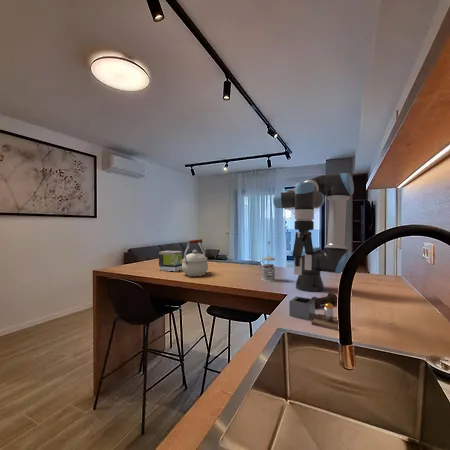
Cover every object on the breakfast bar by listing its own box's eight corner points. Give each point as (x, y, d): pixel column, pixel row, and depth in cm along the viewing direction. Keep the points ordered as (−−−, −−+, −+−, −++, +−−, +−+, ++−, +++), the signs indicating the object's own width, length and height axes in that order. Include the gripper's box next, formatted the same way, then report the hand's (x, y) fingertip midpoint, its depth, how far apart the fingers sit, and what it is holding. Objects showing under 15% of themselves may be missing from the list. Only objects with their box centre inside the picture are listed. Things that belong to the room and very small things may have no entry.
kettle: (195, 279, 173) (195, 241, 172) (174, 276, 183) (174, 240, 182) (216, 272, 194) (216, 238, 193) (197, 270, 204) (197, 238, 203)
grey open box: (296, 310, 114) (296, 296, 114) (314, 313, 109) (315, 299, 109) (289, 315, 107) (289, 301, 107) (309, 319, 103) (309, 304, 103)
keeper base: (318, 316, 107) (318, 313, 107) (345, 321, 101) (345, 319, 101) (311, 324, 98) (311, 321, 98) (340, 330, 93) (340, 328, 93)
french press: (271, 282, 164) (272, 242, 164) (255, 279, 171) (255, 241, 171) (278, 279, 172) (279, 241, 171) (263, 277, 179) (263, 240, 178)
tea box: (182, 270, 204) (182, 251, 204) (174, 272, 195) (174, 252, 195) (166, 268, 210) (166, 250, 210) (158, 270, 201) (158, 251, 201)
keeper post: (325, 318, 102) (325, 301, 102) (334, 320, 100) (334, 302, 100) (323, 320, 99) (323, 303, 99) (332, 322, 97) (332, 305, 97)
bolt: (306, 311, 118) (332, 306, 123) (313, 309, 113) (339, 303, 119) (302, 298, 120) (327, 294, 126) (308, 295, 116) (334, 291, 122)
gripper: (304, 220, 121) (303, 267, 121) (284, 219, 100) (283, 275, 100) (321, 221, 116) (320, 269, 117) (304, 219, 96) (303, 278, 96)
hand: (303, 272), depth 108 cm, fingers open, 13 cm apart
